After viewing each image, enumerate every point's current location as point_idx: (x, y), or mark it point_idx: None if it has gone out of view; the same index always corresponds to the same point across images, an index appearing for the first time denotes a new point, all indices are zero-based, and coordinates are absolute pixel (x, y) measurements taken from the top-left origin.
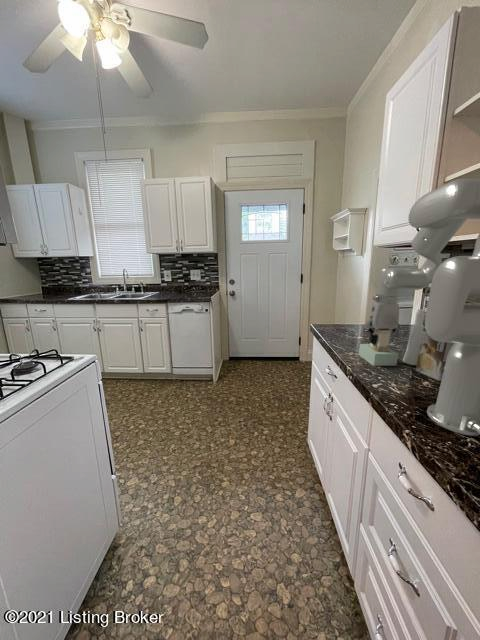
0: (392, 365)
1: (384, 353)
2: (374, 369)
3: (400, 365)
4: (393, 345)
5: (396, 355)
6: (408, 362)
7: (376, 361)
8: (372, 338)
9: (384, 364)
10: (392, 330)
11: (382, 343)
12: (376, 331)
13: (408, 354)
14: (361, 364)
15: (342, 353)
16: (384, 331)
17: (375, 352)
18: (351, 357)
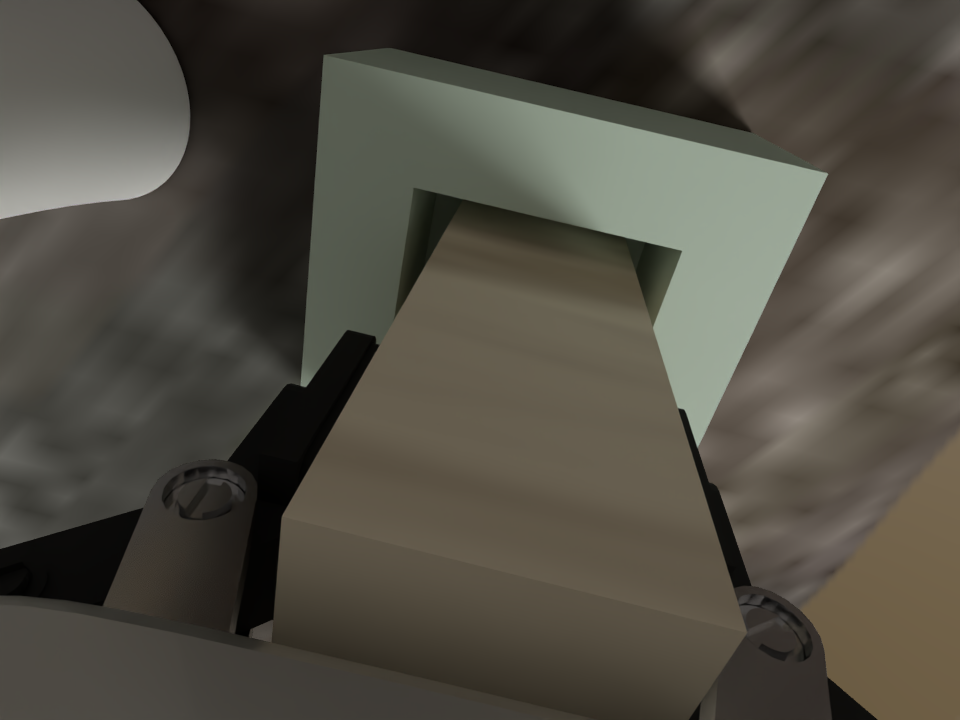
0: (451, 62)
1: (615, 142)
2: (875, 4)
3: (323, 33)
4: (4, 547)
5: (372, 61)
6: (156, 43)
7: (737, 134)
8: (731, 535)
9: (582, 95)
10: (91, 589)
11: (575, 328)
12: (741, 691)
13: (73, 90)
14: (879, 227)
15: (770, 554)
16: (593, 571)
17: (744, 239)
18: (778, 443)
